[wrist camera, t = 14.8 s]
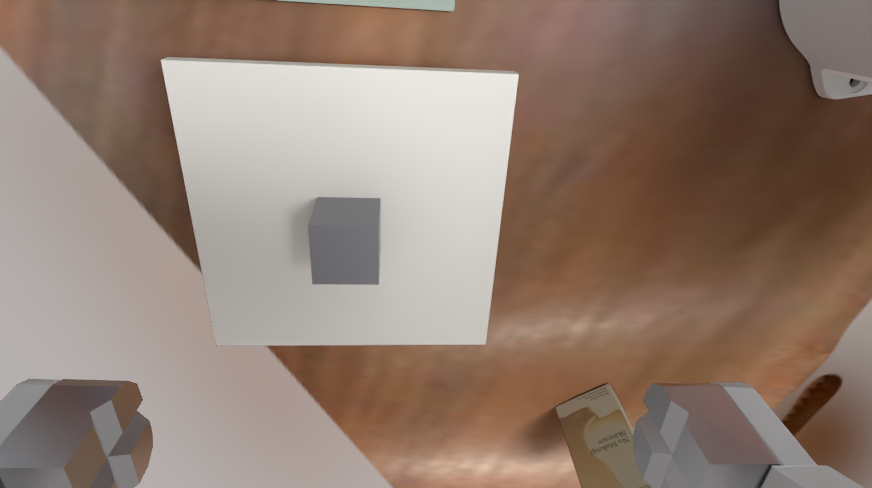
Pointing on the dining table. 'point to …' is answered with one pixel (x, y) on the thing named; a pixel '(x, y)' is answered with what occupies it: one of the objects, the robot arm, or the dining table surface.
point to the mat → (393, 3)
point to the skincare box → (600, 440)
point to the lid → (343, 197)
